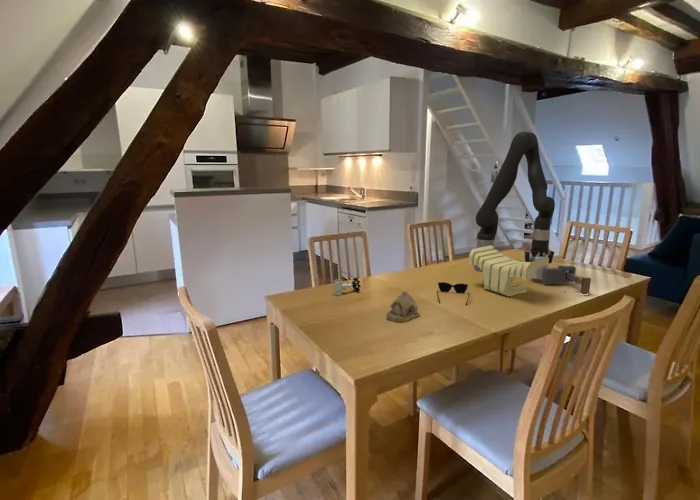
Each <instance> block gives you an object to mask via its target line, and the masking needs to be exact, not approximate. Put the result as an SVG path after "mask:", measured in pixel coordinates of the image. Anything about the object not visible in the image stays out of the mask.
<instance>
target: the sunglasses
mask: <svg viewBox="0 0 700 500" xmlns="http://www.w3.org/2000/svg"><path fill="white" fill-rule="evenodd" d="M436 285H437V286H436V296H437V299H438V303H439V304H441V301H440V297H439V293H438V292H439V291H440V292H441V293H449V292H450V291H451V290H452V288H453V290H454V291H455V293H456V294H465V293H466V291H467V290H468V296H467V298H466V302H465V305H466V306H467V305H468V302H469V298H470V295H471V294H470V290H469V289H470V287H469V284H467V283H456V284H451V283H448V282H446V281H445V282H444V281H443V282H441V281H439V282H437V284H436ZM438 290H439V291H438Z"/></svg>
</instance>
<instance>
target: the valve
mask: <svg viewBox="0 0 700 500" xmlns="http://www.w3.org/2000/svg"><path fill="white" fill-rule="evenodd" d="M360 282H361V281H360V280H359V278H358V277H355V278H352V282H351V283H346V282H344V283H343V280H342V279H334V281H333V291H334V292H333V293H334V296H337V297H338V296H342V295H343V291H345V290H347V289H350V288H353V290H354V291H355V292H360V291H361V289H360V288H361V287H362V286H361V284H360Z"/></svg>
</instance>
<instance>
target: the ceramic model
mask: <svg viewBox="0 0 700 500" xmlns="http://www.w3.org/2000/svg"><path fill="white" fill-rule="evenodd" d="M390 308H391V309H390V310H389V311H388V312H386V319H387V320H389V321H392V322H396V323H397V322H398V323H401V322H402V323H403V322H404V323H405V322H408V321H410V320H411V319H414V318H417V317H419V316H420V314H421V313H420V312H419V311H418V309H419V306H418V305H417V303H416V301H415V299H414V298H413V297H412V296H411V294H409V293H408V291H404V290H403V291H402V292H401V294H399V295H398V296H397V298H395V300H394V301H392V303H391V304H390Z"/></svg>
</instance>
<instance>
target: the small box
mask: <svg viewBox="0 0 700 500" xmlns="http://www.w3.org/2000/svg"><path fill="white" fill-rule="evenodd" d="M531 256H532V254H530V258H531ZM532 258H534V257H533V256H532ZM547 258H548V256H546V257H543V256H539V257H535V261H538V260H543V259H547ZM543 268H548V264H547V265H544V266H542V267H540V268H538V269H537V270H535V272H534V273H533V275H532V279H533V278H534V279H535V280H536V279H538V280H539V279H540V280H541V279H542V277H543Z"/></svg>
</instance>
